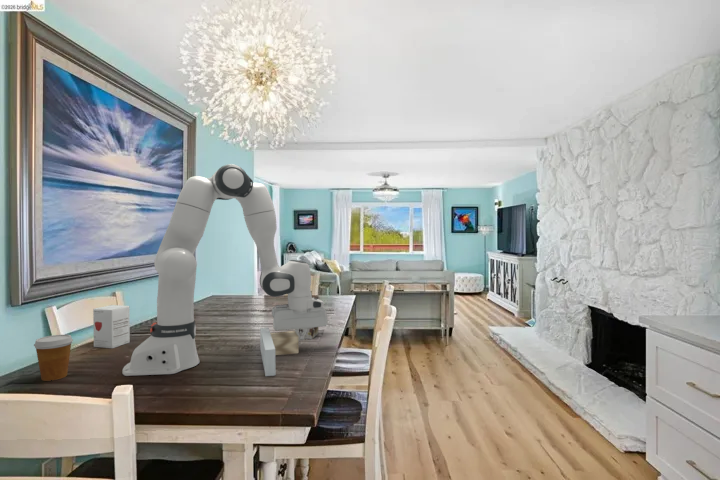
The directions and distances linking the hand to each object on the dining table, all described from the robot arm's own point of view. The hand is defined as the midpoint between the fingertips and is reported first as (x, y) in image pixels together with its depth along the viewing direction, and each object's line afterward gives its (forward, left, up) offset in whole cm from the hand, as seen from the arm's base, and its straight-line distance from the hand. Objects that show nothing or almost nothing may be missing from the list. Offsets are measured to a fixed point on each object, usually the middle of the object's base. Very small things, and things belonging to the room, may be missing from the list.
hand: (301, 340), depth 152 cm
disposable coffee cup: (-76, -7, -4) cm, 77 cm away
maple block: (-7, 0, -4) cm, 7 cm away
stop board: (-13, -11, -3) cm, 17 cm away
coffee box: (+6, +18, -4) cm, 20 cm away
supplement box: (-70, +29, -4) cm, 76 cm away
